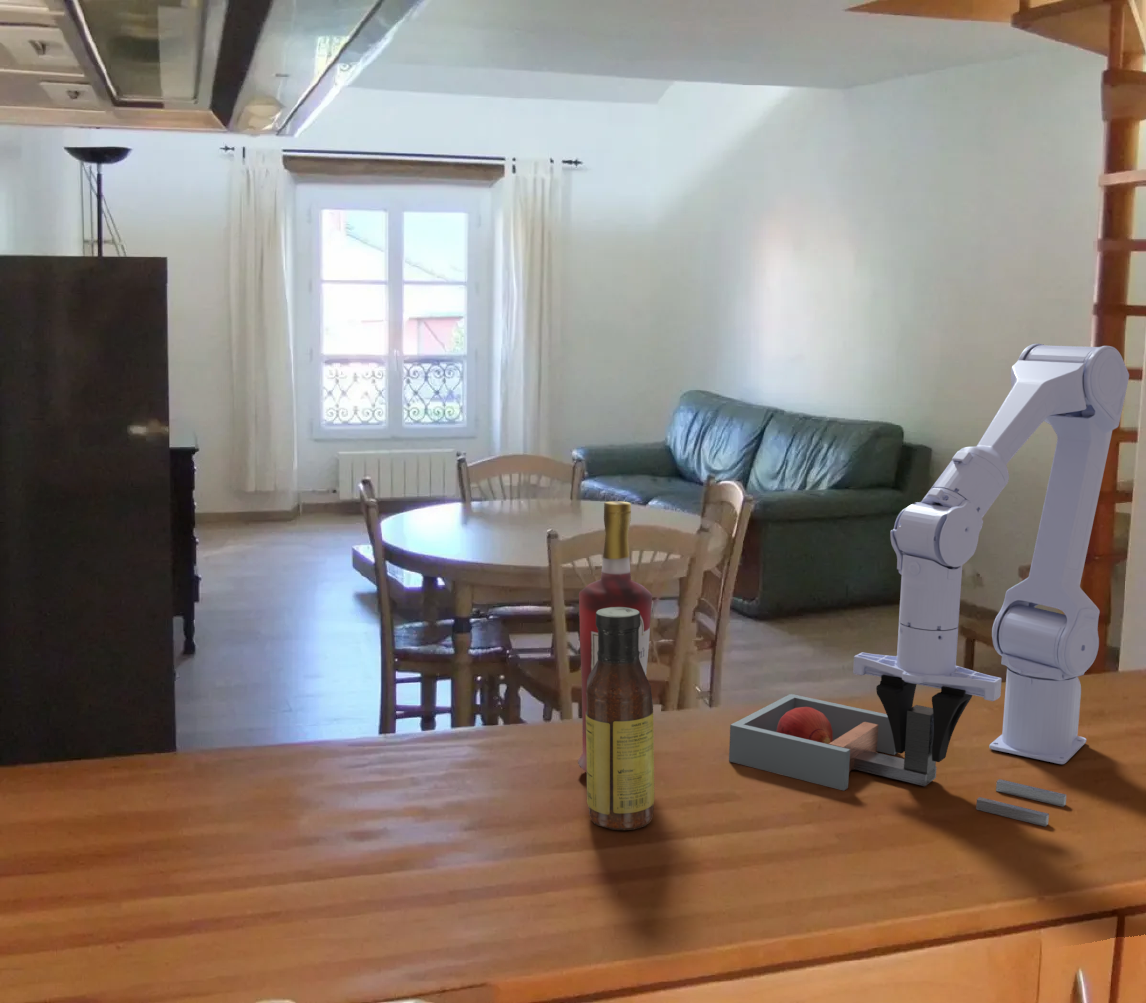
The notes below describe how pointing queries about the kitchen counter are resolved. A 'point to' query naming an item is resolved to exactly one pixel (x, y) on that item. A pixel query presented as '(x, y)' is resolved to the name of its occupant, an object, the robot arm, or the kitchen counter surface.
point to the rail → (1021, 812)
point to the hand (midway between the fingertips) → (920, 754)
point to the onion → (806, 725)
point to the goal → (803, 741)
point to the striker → (909, 769)
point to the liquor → (611, 598)
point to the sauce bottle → (619, 726)
